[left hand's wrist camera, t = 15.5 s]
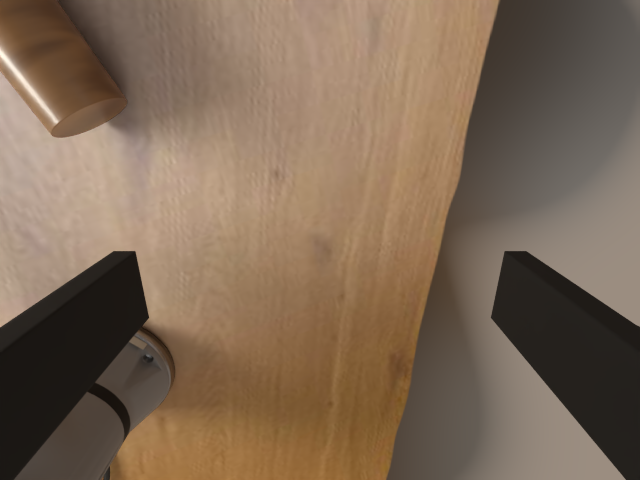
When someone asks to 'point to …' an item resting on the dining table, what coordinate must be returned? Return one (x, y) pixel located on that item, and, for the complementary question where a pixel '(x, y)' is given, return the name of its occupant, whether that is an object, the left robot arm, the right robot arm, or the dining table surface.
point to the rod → (55, 68)
